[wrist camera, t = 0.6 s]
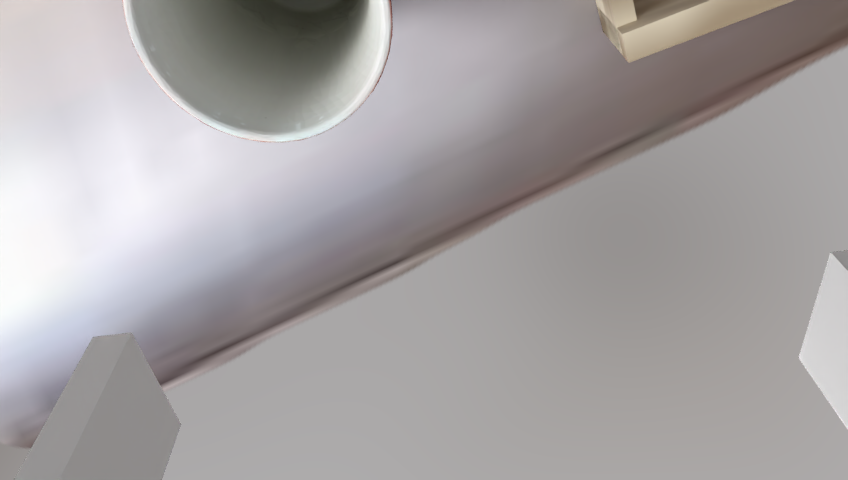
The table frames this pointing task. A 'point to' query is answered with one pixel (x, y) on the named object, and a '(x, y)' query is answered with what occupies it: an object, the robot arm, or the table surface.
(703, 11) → the beige block
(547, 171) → the table surface
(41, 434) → the robot arm
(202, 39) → the mug
